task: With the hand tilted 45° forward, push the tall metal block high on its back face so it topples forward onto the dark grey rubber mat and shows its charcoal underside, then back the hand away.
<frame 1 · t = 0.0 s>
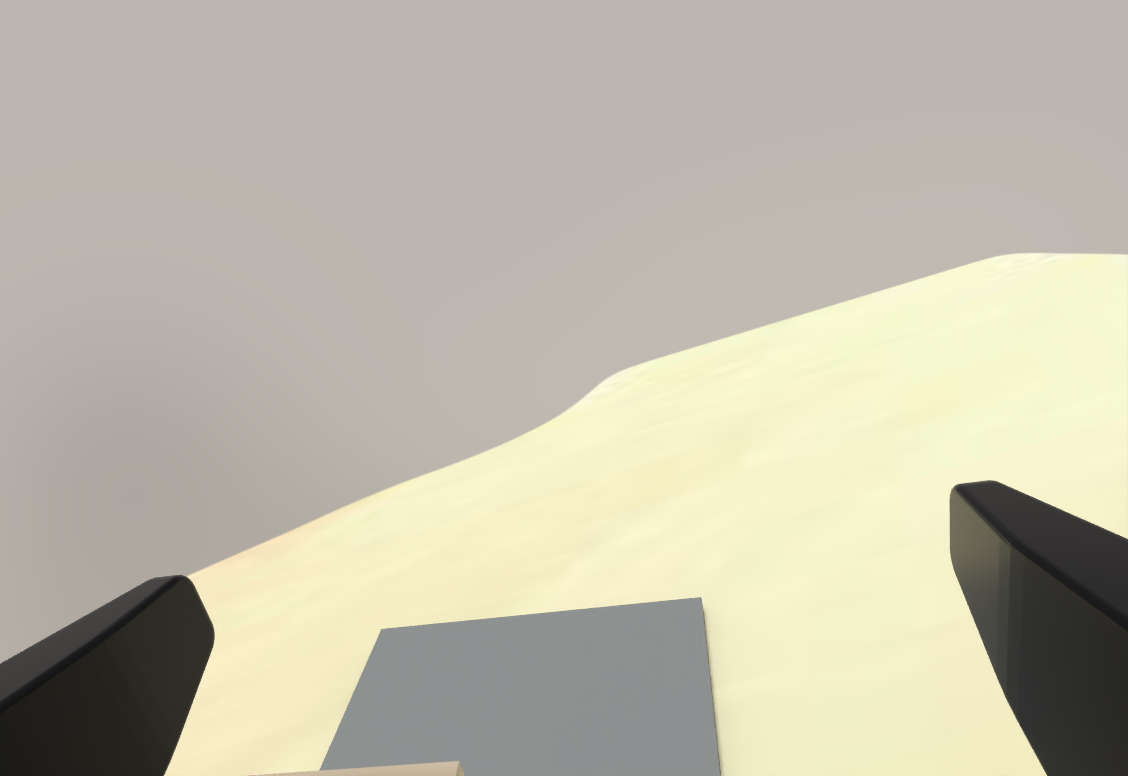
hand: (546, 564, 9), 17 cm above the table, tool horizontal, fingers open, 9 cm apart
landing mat: (514, 763, 27), on the table
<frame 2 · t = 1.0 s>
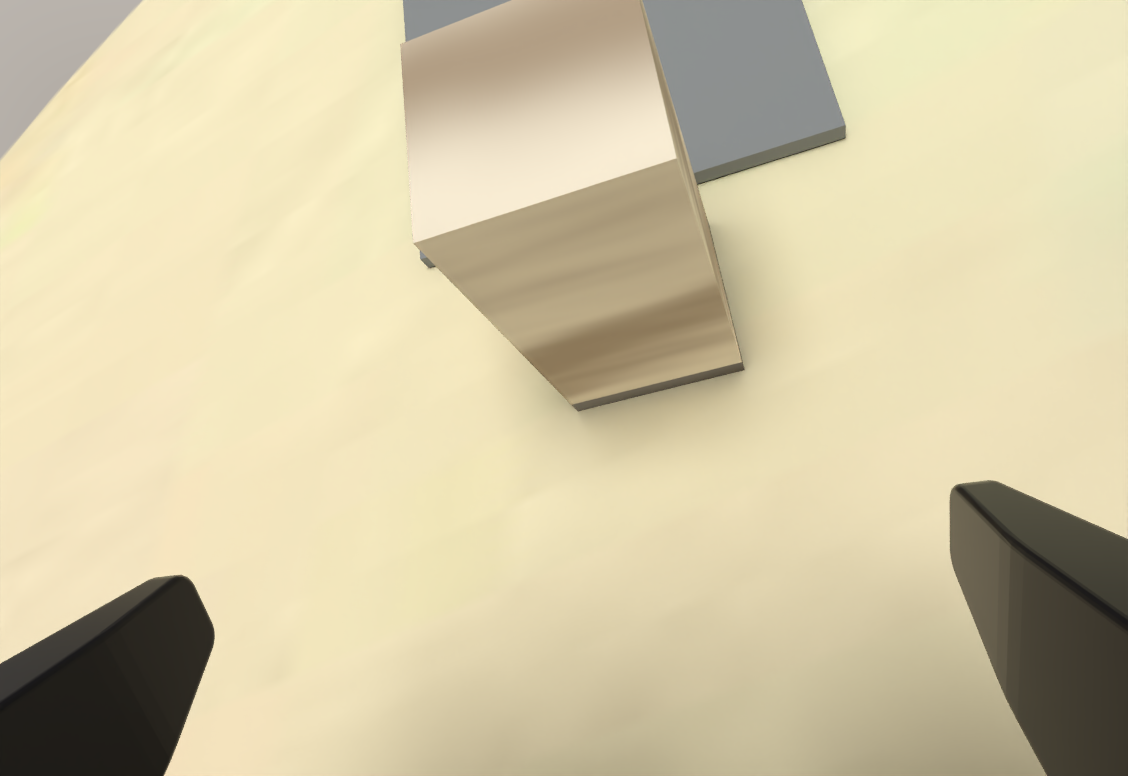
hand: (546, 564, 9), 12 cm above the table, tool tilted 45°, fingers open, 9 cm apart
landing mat: (591, 47, 28), on the table
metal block: (644, 315, 24), on the table
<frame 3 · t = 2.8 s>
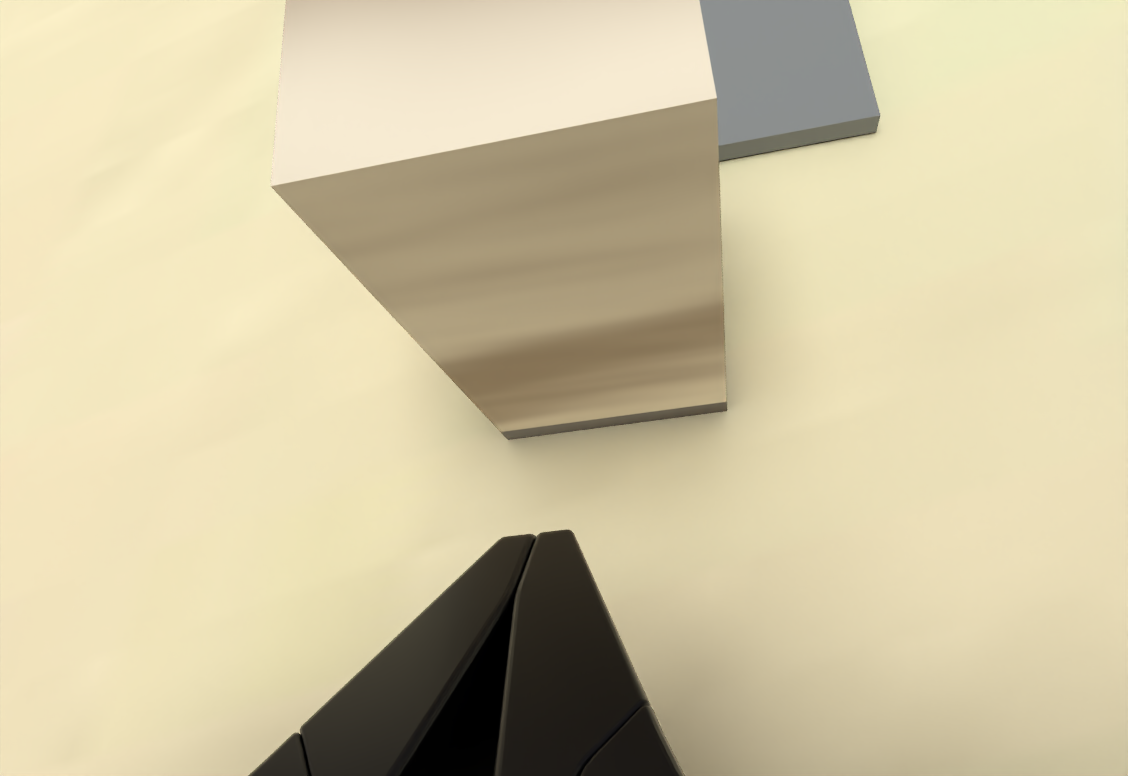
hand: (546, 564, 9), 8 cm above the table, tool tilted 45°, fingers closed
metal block: (604, 326, 18), on the table
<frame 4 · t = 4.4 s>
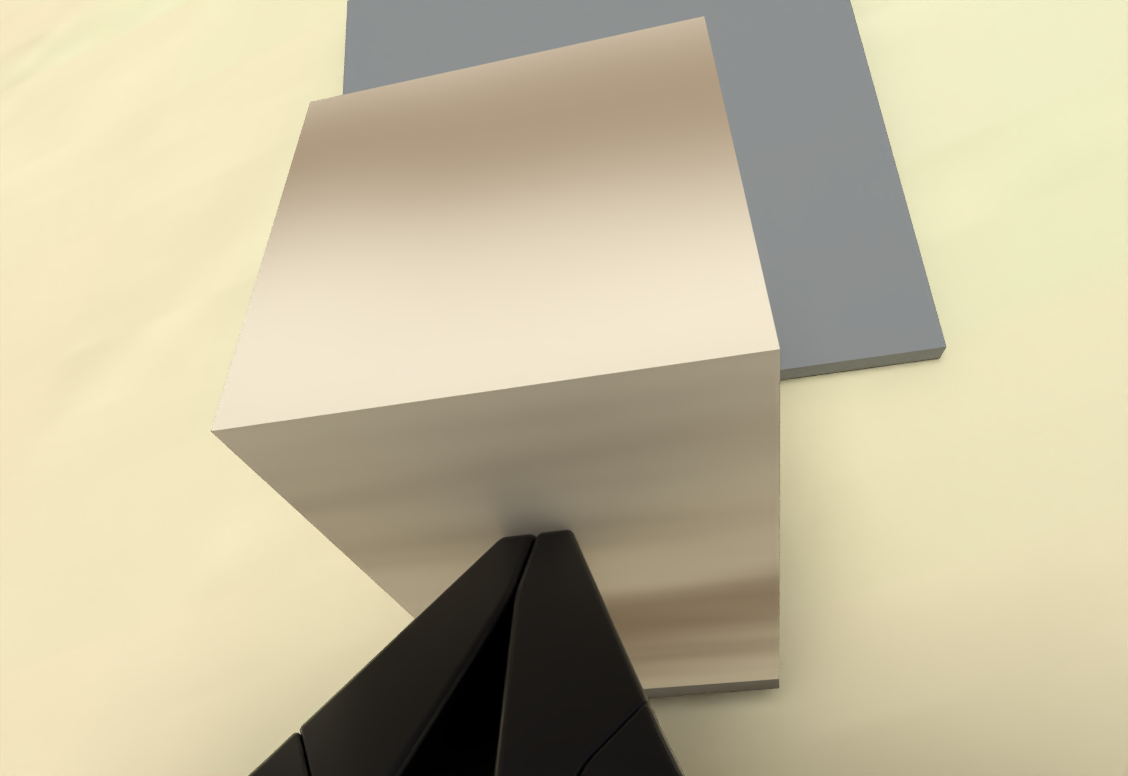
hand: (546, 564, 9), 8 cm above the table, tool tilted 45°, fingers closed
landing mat: (594, 155, 21), on the table
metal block: (632, 570, 16), point 1 cm above the table, tilted 14°
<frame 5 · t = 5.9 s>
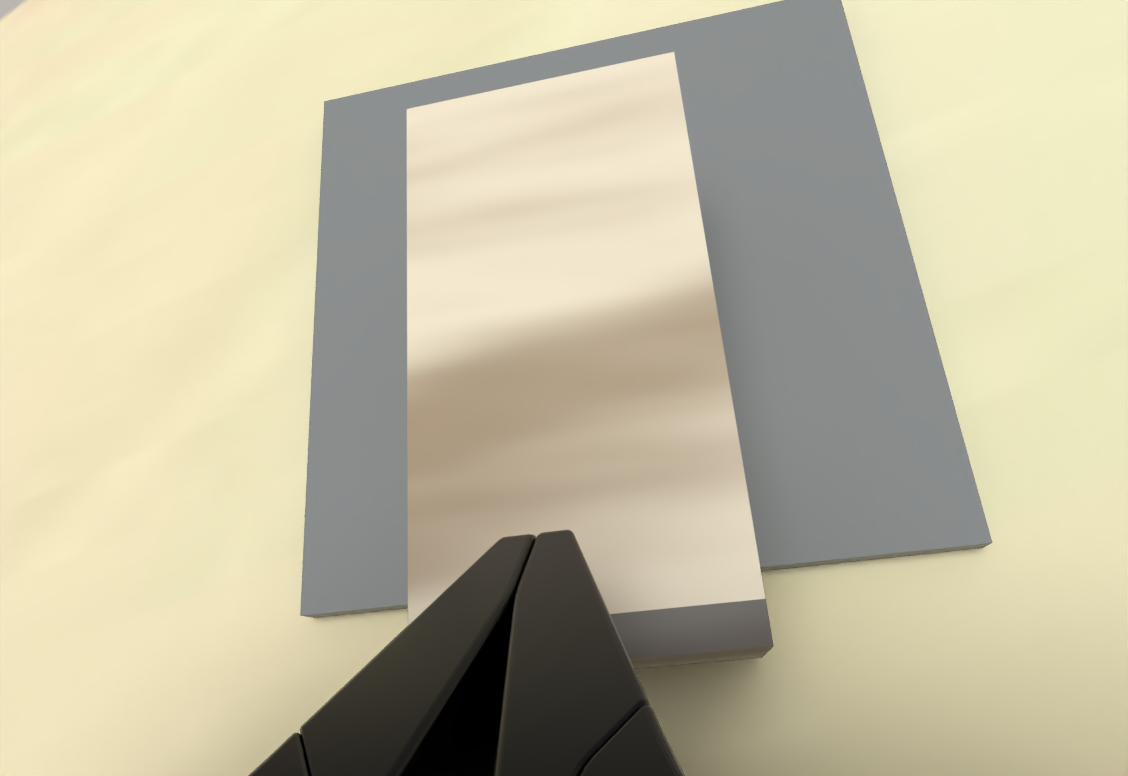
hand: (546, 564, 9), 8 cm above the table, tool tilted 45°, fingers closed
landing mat: (594, 289, 19), on the table
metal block: (611, 666, 13), point 3 cm above the table, tilted 90°, touching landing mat
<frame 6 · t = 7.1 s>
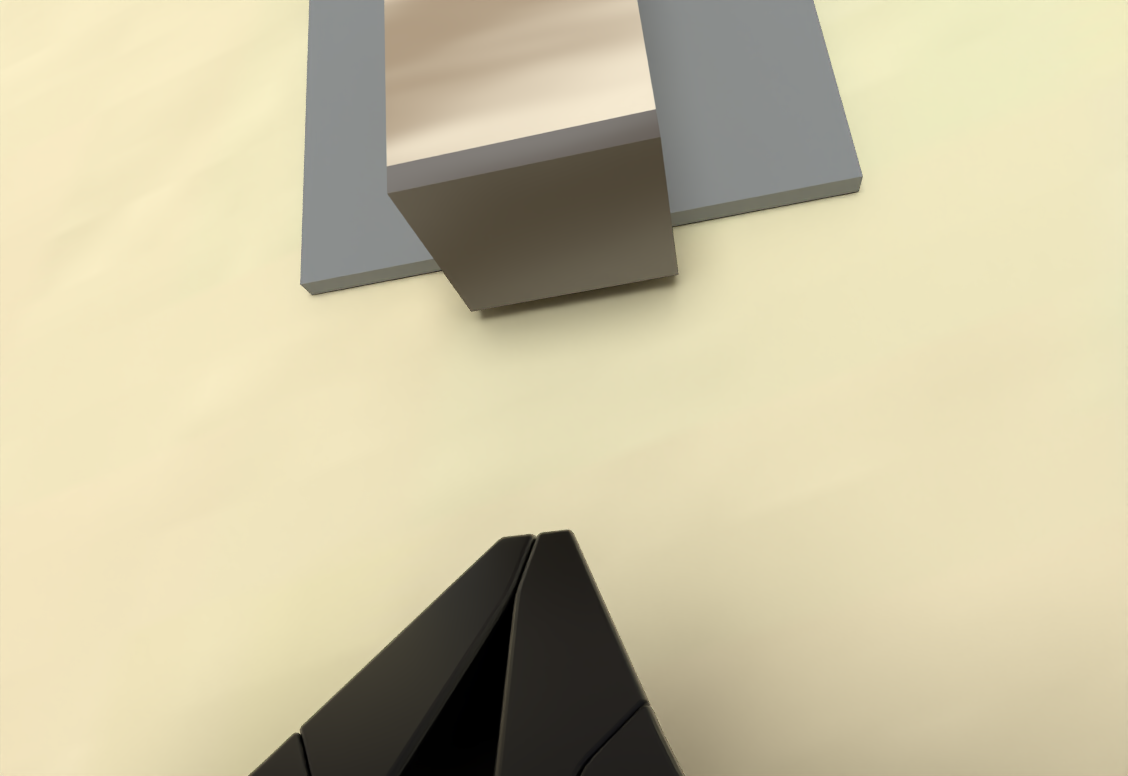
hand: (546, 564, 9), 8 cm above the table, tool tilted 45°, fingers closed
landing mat: (546, 33, 22), on the table
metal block: (550, 238, 16), point 3 cm above the table, tilted 90°, touching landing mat
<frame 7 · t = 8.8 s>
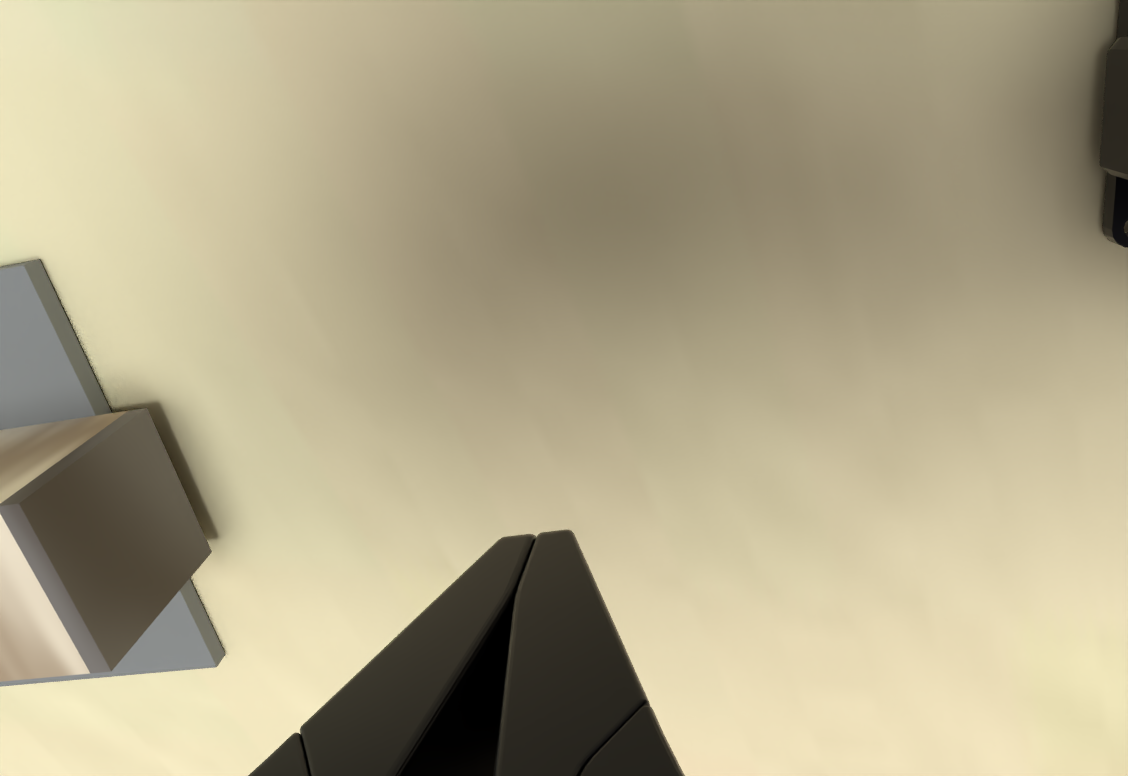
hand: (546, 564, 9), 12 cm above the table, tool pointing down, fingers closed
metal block: (130, 531, 21), point 3 cm above the table, tilted 90°, touching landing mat
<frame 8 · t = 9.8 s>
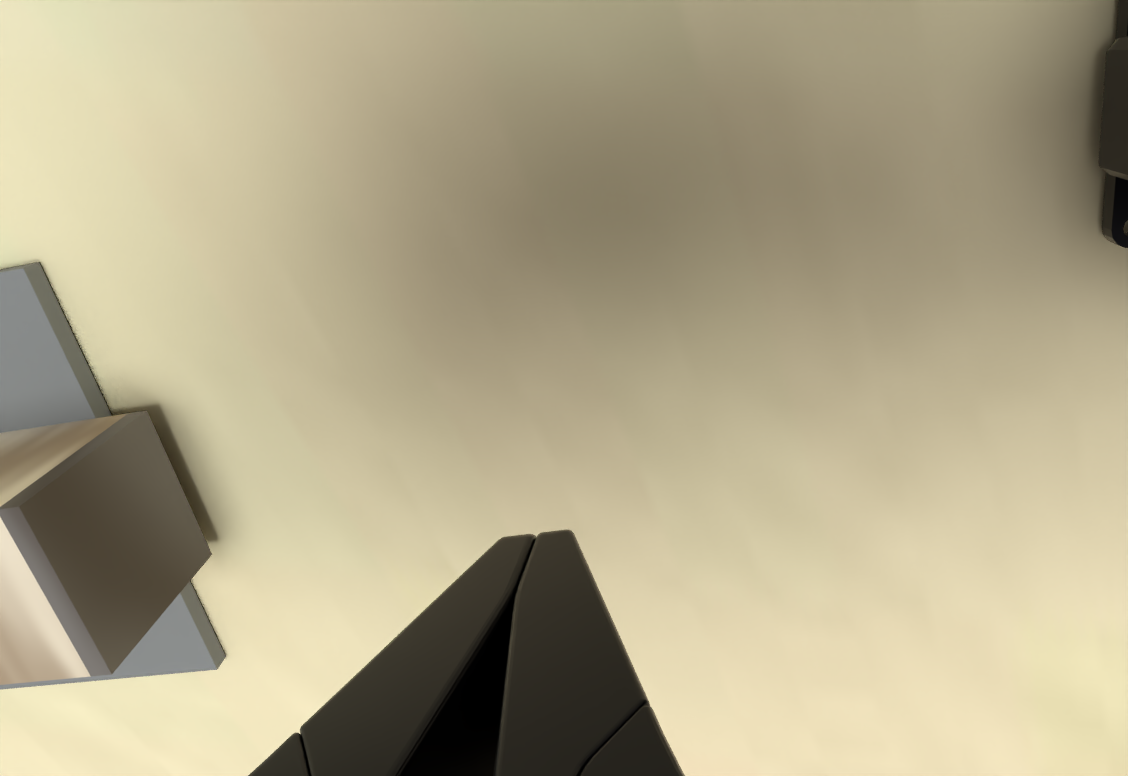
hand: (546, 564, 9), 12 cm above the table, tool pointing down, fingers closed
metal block: (130, 534, 21), point 3 cm above the table, tilted 90°, touching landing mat
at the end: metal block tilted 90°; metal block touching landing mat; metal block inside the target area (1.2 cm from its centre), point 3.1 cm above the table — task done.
